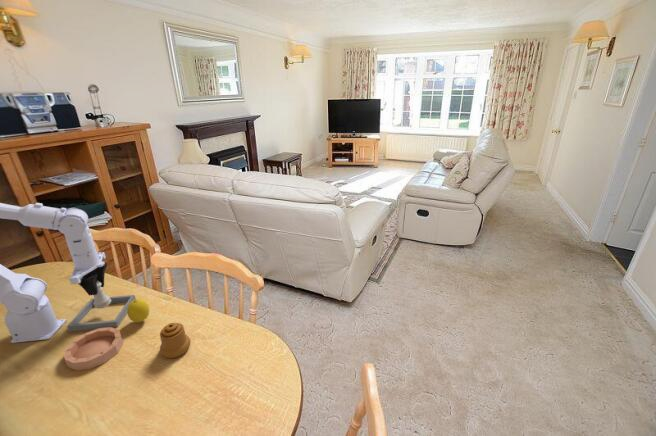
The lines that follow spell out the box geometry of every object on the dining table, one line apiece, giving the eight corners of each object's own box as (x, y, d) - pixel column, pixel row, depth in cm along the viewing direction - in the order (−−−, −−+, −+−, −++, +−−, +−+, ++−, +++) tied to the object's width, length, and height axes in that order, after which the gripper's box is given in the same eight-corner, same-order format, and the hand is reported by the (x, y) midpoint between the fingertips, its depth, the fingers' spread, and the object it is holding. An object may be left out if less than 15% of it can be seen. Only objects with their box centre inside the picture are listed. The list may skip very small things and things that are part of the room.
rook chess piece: (115, 301, 94) (106, 280, 91) (100, 310, 90) (90, 289, 87) (106, 298, 96) (97, 277, 93) (91, 307, 92) (81, 285, 89)
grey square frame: (68, 331, 87) (66, 326, 87) (93, 303, 99) (91, 298, 99) (117, 326, 90) (116, 321, 89) (135, 299, 101) (134, 294, 101)
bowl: (56, 372, 75) (53, 365, 74) (84, 337, 86) (81, 330, 85) (109, 366, 77) (106, 358, 76) (130, 332, 88) (127, 325, 87)
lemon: (155, 315, 94) (150, 294, 91) (143, 328, 89) (137, 306, 86) (139, 314, 95) (133, 293, 92) (126, 327, 90) (119, 305, 86)
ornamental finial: (186, 358, 79) (156, 361, 78) (194, 337, 86) (166, 340, 85) (181, 334, 76) (150, 337, 75) (189, 315, 83) (160, 317, 82)
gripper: (84, 262, 80) (98, 304, 85) (111, 238, 93) (122, 276, 98) (54, 264, 79) (70, 306, 84) (85, 240, 92) (98, 277, 97)
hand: (96, 290), depth 91 cm, fingers closed on rook chess piece, 3 cm apart
